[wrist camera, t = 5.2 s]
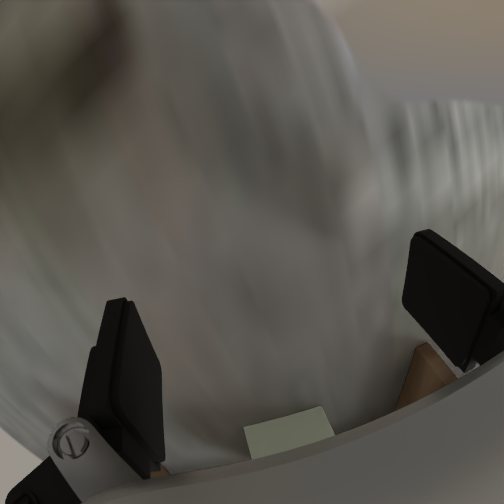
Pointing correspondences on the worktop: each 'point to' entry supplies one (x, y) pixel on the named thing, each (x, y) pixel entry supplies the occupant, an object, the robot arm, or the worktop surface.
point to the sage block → (287, 432)
